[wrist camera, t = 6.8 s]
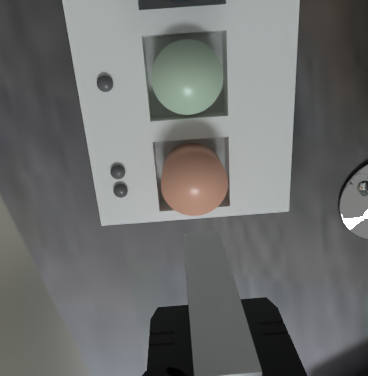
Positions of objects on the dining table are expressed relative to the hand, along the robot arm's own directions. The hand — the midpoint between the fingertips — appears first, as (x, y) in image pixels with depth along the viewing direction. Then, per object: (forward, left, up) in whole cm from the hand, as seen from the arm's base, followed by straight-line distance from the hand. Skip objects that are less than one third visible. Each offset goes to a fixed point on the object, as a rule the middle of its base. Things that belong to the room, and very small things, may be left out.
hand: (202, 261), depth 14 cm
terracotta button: (0, 0, -11) cm, 11 cm away
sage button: (-7, 0, -13) cm, 14 cm away
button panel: (-7, 0, -14) cm, 15 cm away
